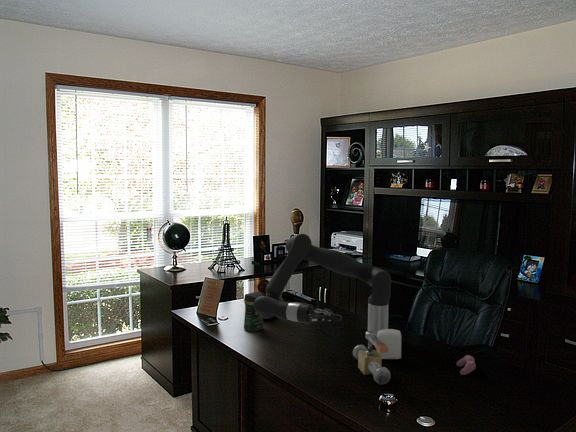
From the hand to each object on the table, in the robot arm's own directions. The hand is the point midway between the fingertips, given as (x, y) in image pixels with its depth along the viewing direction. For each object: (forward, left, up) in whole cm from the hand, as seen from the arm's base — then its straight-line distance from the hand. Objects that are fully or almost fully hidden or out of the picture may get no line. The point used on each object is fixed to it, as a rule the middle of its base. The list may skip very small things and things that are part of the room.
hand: (340, 318), depth 182 cm
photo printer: (-27, +11, -23) cm, 37 cm away
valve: (-11, +8, -23) cm, 27 cm away
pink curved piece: (-29, +42, -23) cm, 56 cm away
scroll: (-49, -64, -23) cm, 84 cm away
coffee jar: (-30, -58, -23) cm, 69 cm away
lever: (-6, +12, -10) cm, 17 cm away
